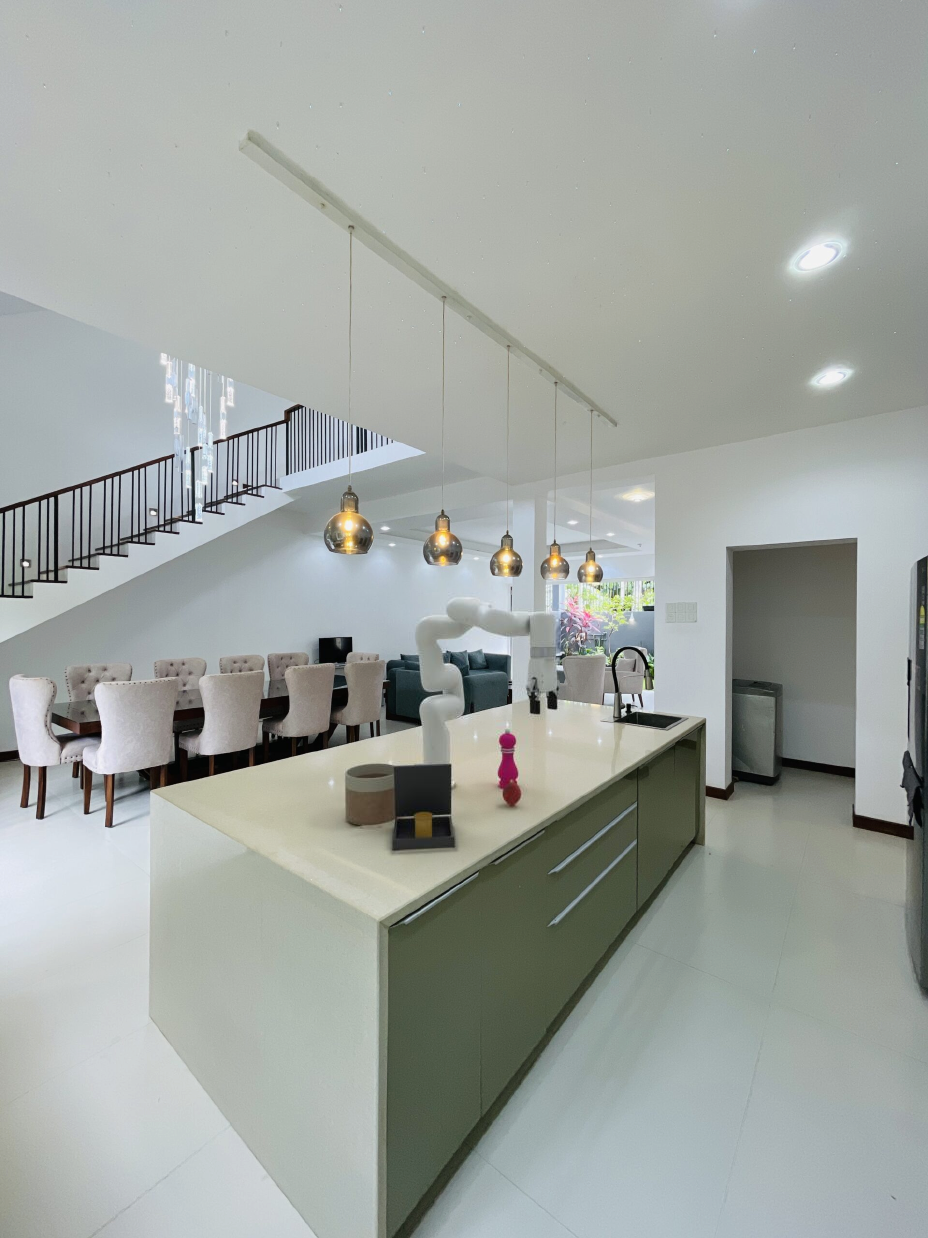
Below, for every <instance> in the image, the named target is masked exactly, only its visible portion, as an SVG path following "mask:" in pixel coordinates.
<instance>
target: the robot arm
mask: <svg viewBox="0 0 928 1238" xmlns="http://www.w3.org/2000/svg"><path fill="white" fill-rule="evenodd" d="M445 612H446V614H445V615H444V614H434V615H433V614H432V615H427V616H425V617H423V618H422V619H420V620H419V621H418V623H417V625H416V627H415V631H414V638H415V644H416V647H417V652H418V663H419V673H420V683H421V686H422V688H423V690H424V691H426V692H429V693H435V692H442V694H436V695H431V696H428V697H426V698H425V699H423V700H422V701H421V703H420V705H419V708H418V709H419V717H420V723H421V730H422V764H427V763H432V764H451V736H450V731H449V728H448V727H447V724H446V722H449V721H453V720H457V719H459V718H460V717H462V716H463V715H464V712H465V703H466V702H465V693H464V683H463V682H464V681H463V676H462V672H461V671H460V668H459V667H458V666H457V665H455V664H453V663H445V662H444V653H443V650H442V648H441V646H440V644H439V643H438V640H455V639H459V638H461V637H462V636H464V635H465V634H466V633H468V632H469V631H470V630H471V629H472V628H474V627H475V628H480V629H481V630H483V631H485V632H487V633H490V634H493V635H498V636H502V637H506V638H508V637H509V638H511V637H512V638H515V637H529V661H528V665H527V666H528V668H527V684H526V685H525V690H526V694H527V696H528V700H529V714H531V715H540V714H541V700H540V697H541V695H542V694H544V693H545V694H546V693H547V695H546V709H547V710H552V711H556V710H558V696H559V690H560V688H559V687H560V682H561V681H560V679H558V669H557V668H558V667H557V660H556V659H557V645H556V644H557V643H556V641H557V639H556V638H557V637H556V635H557V634H556V633H557V632H556V631H557V630H556V614H555V613H554V612H552V611H534V612H532V611H531V612H530V611H515V610H514V611H510V610H509V611H508V610H503V609H498V608H494V605H493V604H491V603H490V602H486V601H482V600H481V599H479V598H477V597H467V596H465V597H464V596H458V597H454V598H452V599H450V600H449V601H448V602H447V604H446V606H445ZM455 786H456V782H455V780H454V779H452V778H451V789H453V788H454V787H455Z"/></svg>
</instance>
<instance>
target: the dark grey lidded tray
mask: <svg viewBox="0 0 928 1238" xmlns="http://www.w3.org/2000/svg"><path fill="white" fill-rule="evenodd" d="M393 824H394V825H393V831H392V840H391V841H392V842H391V843H392V845H391V848H392V851H407V850H410V851H411V850H428V849H449V848H456V836H455V830H454V824H453V818H452V815H434V816H433V817H432V837H423V838H415V818H414V816H412V817H397V818H395V819H394V823H393Z"/></svg>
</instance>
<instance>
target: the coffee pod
mask: <svg viewBox="0 0 928 1238" xmlns="http://www.w3.org/2000/svg"><path fill="white" fill-rule="evenodd" d="M413 817H414V818H415V838H423V837H432V817H433V814H432V813H429V812H419V813H416V814H415V815H414V816H413Z"/></svg>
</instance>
